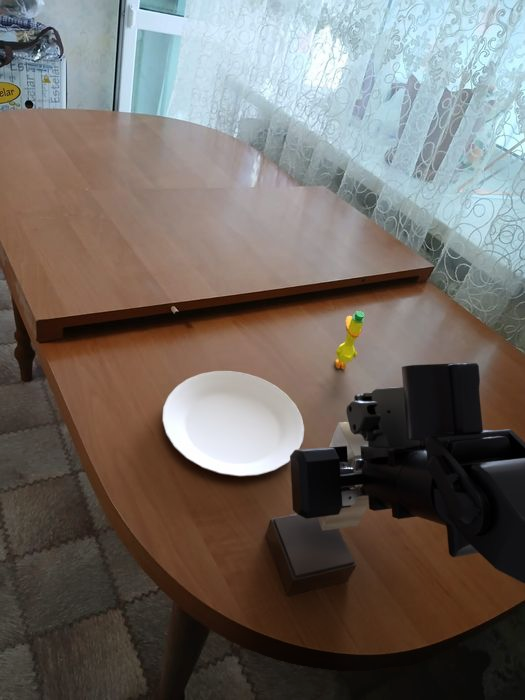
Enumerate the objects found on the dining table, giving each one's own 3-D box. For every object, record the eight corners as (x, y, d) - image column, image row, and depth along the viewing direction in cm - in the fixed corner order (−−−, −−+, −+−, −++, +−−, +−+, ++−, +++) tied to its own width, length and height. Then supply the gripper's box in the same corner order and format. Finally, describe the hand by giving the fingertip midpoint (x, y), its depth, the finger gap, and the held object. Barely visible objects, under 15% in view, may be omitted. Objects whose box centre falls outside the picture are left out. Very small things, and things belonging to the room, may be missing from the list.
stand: (348, 581, 65) (357, 563, 63) (287, 596, 62) (294, 578, 60) (321, 524, 71) (329, 505, 68) (264, 535, 68) (270, 516, 65)
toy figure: (328, 351, 101) (346, 297, 93) (347, 354, 101) (366, 300, 94) (332, 375, 95) (352, 320, 88) (352, 378, 96) (373, 323, 88)
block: (358, 525, 64) (394, 452, 56) (322, 530, 62) (354, 455, 54) (343, 493, 67) (376, 419, 59) (309, 497, 66) (338, 422, 58)
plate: (232, 513, 69) (235, 503, 68) (131, 418, 79) (132, 407, 77) (327, 438, 83) (331, 428, 82) (232, 364, 92) (234, 354, 91)
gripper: (505, 386, 51) (410, 392, 65) (322, 395, 45) (262, 399, 60) (516, 508, 50) (417, 486, 64) (330, 534, 44) (268, 503, 58)
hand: (344, 466), depth 62 cm, fingers closed on block, 4 cm apart
